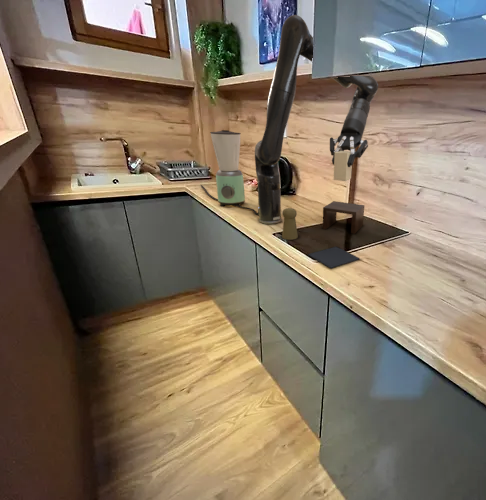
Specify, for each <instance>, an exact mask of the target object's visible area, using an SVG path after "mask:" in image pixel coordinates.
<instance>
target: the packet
mask: <svg viewBox="0 0 486 500" xmlns="http://www.w3.org/2000/svg"><path fill="white" fill-rule="evenodd" d="M350 154H351V151H349V150H344V151H338V152H335V157H334V165H333V181H340V182H347V181H349V180H351V179H352V172H353V171H352V170H353V169H352V168H353V165H352V166H350V167H348V165H347V162H348V159H349V156H350Z"/></svg>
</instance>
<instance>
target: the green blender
mask: <svg viewBox="0 0 486 500" xmlns="http://www.w3.org/2000/svg"><path fill="white" fill-rule="evenodd" d="M209 133H210V137H211V143H212V146H213V151H214V155H215V158H216V162H217V166H218V170H217V171H216V173H215V184H216V192H217V199H218V201H217V202H218V203H219V204H220V207H225V206H232V205H239V206H241V205H242V204H244V203H246V202H245V201H246V194H245V193H246V192H245V182H244V174H243V172H242V170H240V169H239V168H240V167H239V166H240V154H241V153H240V152H241V132H236V131H235V132H234V131H230V130H228V129H227V130H226V129H225V130H223V129H222V130H218V131H210V132H209Z"/></svg>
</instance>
